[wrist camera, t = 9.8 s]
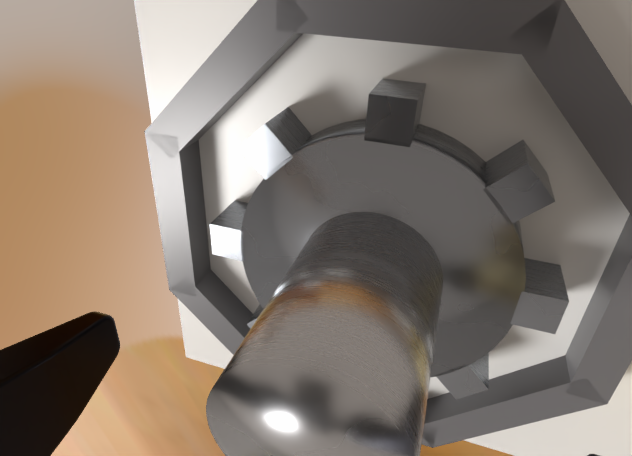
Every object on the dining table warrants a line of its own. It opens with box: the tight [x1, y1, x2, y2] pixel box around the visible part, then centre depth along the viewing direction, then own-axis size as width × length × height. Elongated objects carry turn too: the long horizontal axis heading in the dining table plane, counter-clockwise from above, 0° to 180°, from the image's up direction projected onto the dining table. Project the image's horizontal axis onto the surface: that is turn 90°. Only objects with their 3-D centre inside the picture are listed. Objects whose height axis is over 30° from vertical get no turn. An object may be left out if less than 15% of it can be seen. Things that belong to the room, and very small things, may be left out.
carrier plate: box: [134, 0, 632, 456], centre depth 11 cm, size 22×14×4 cm, turn 88°
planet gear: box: [206, 79, 569, 456], centre depth 10 cm, size 9×9×6 cm
